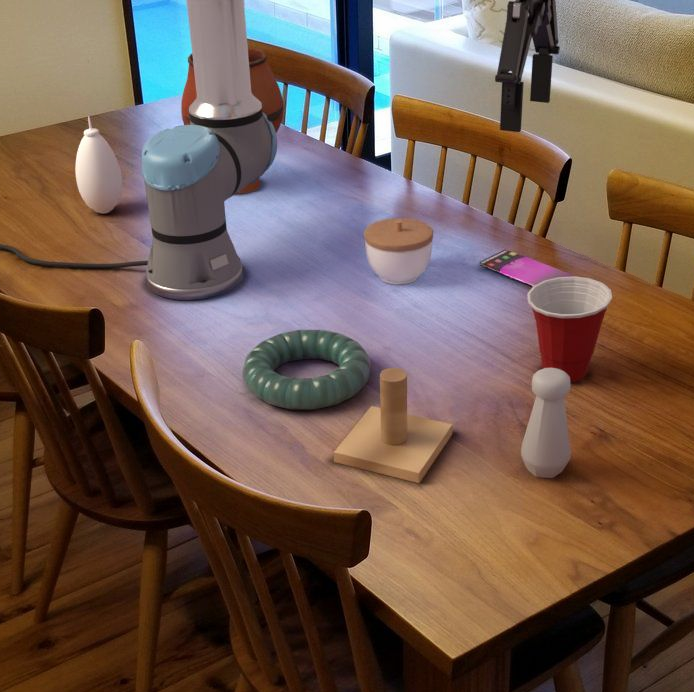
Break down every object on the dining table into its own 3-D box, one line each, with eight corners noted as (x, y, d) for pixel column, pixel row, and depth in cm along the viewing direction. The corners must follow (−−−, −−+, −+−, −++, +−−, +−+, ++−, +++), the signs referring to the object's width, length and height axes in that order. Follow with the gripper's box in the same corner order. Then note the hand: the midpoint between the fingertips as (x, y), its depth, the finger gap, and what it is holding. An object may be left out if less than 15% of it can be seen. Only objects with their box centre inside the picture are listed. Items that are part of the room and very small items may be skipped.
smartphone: (506, 253, 176) (506, 248, 176) (582, 280, 167) (582, 275, 167) (477, 267, 172) (478, 262, 172) (553, 296, 163) (554, 291, 163)
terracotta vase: (248, 212, 195) (236, 74, 182) (168, 193, 204) (151, 60, 191) (308, 178, 208) (301, 48, 195) (230, 162, 217) (219, 36, 204)
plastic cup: (514, 355, 149) (518, 277, 142) (591, 349, 149) (599, 271, 143) (532, 396, 140) (537, 315, 133) (613, 390, 140) (623, 309, 134)
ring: (221, 399, 141) (218, 373, 139) (282, 340, 154) (280, 315, 152) (336, 426, 135) (335, 399, 133) (390, 363, 148) (390, 337, 146)
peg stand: (334, 462, 129) (330, 387, 123) (371, 415, 137) (369, 344, 131) (419, 483, 125) (419, 407, 119) (452, 434, 133) (454, 361, 127)
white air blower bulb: (73, 214, 197) (56, 118, 187) (104, 200, 202) (89, 106, 192) (103, 223, 193) (87, 125, 183) (134, 208, 198) (120, 112, 188)
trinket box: (427, 293, 165) (428, 237, 160) (359, 289, 167) (357, 233, 162) (437, 263, 174) (437, 209, 169) (372, 260, 176) (371, 206, 171)
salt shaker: (533, 448, 130) (540, 355, 123) (577, 463, 127) (586, 369, 120) (511, 472, 126) (516, 378, 119) (555, 488, 123) (564, 392, 116)
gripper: (534, -27, 127) (524, 147, 138) (588, -63, 146) (575, 92, 157) (474, -31, 129) (469, 140, 141) (535, -66, 148) (526, 87, 160)
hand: (525, 115), depth 149 cm, fingers open, 13 cm apart
